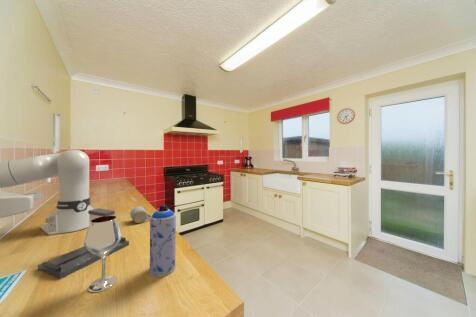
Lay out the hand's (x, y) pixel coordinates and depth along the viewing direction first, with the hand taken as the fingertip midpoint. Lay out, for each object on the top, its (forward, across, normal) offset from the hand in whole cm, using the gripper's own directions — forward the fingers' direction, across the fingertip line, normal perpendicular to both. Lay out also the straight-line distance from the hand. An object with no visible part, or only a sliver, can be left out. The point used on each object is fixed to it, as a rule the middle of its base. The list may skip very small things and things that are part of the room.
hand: (39, 195), depth 49 cm
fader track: (+13, 0, -24) cm, 27 cm away
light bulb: (+45, -12, -24) cm, 53 cm away
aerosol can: (+16, +30, -24) cm, 42 cm away
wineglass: (+5, +19, -24) cm, 31 cm away
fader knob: (+16, 0, -22) cm, 28 cm away
